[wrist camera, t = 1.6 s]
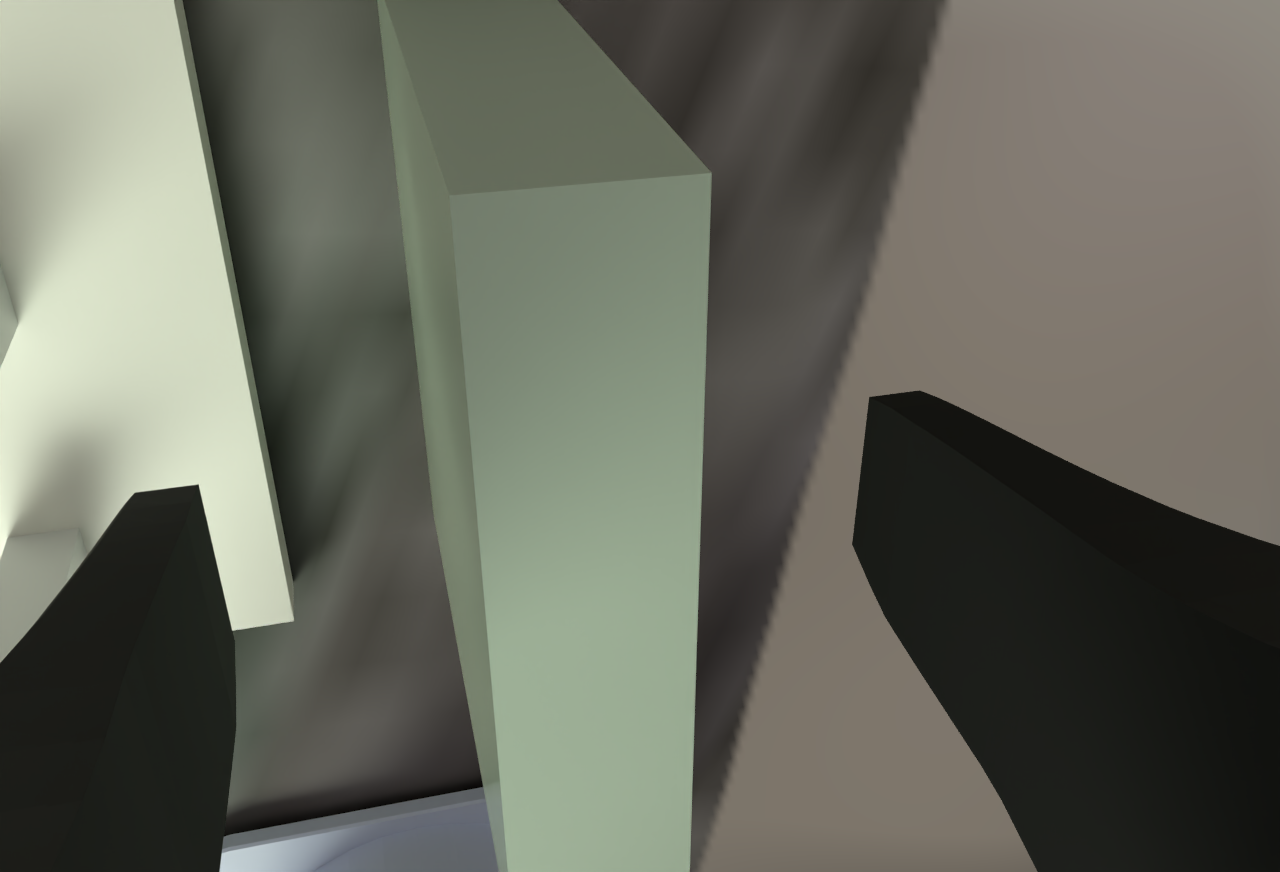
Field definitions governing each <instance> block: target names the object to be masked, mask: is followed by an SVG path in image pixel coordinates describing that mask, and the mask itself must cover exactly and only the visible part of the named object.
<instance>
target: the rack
mask: <svg viewBox="0 0 1280 872" xmlns="http://www.w3.org/2000/svg"><path fill="white" fill-rule="evenodd" d="M197 484H199V489H200V493H201V497H202V502H203V506H204V510H205V515H206V519H207V523H208V528H209V532H210V536H211V541H212V545H213V549H214V554H215V558H216V562H217V567H218V571H219V575H220V580H221V584H222V588H223V593H224V597H225V601H226V606H227V610H228V614H229V619H230V623H231V627H232V631H233V630H240V629H246V628H252V627H259V626H265V625H272V624H278V623H285V622H291V621H294V584H293V579H292V574H291V568H290V563H289V558H288V553H287V547H286V542H285V537H284V532H283V526H282V521H281V516H280V510H279V505H278V500H277V495H276V489H275V484H274V479H273V474H272V468H271V463H270V458H269V453H268V447H267V442H266V437H265V432H264V426H263V421H262V416H261V411H260V405H259V400H258V395H257V390H256V384H255V379H254V374H253V369H252V363H251V358H250V353H249V347H248V342H247V337H246V332H245V326H244V321H243V316H242V311H241V305H240V300H239V295H238V290H237V284H236V279H235V274H234V269H233V263H232V258H231V253H230V248H229V242H228V237H227V232H226V227H225V221H224V216H223V211H222V206H221V200H220V195H219V190H218V185H217V179H216V174H215V169H214V163H213V158H212V153H211V148H210V142H209V137H208V132H207V127H206V121H205V116H204V111H203V106H202V100H201V95H200V90H199V85H198V79H197V74H196V69H195V64H194V58H193V53H192V48H191V43H190V37H189V32H188V27H187V22H186V16H185V11H184V6H183V1H182V0H0V662H1V661H2V660H3V659H4V658H5V657H6V656H7V655H8V653H9V652H10V651H11V650H12V649H13V648H14V647H15V646H16V644H17V643H18V642H19V641H20V640H21V639H22V638H23V637H24V635H25V634H26V633H27V632H28V631H29V629H30V628H31V627H32V626H33V625H34V623H35V622H36V621H37V620H38V618H39V617H40V616H41V615H42V613H43V612H44V611H45V610H46V608H47V607H48V606H49V604H50V603H51V602H52V601H53V599H54V598H55V597H56V596H57V594H58V593H59V592H60V591H61V589H62V588H63V587H64V585H65V584H66V583H67V582H68V580H69V579H70V578H71V577H72V575H73V574H74V573H75V571H76V570H77V569H78V567H79V566H80V564H81V563H82V562H83V560H84V559H85V558H86V556H87V555H88V554H89V552H90V551H91V550H92V548H93V547H94V546H95V544H96V543H97V541H98V540H99V539H100V537H101V536H102V534H103V533H104V532H105V530H106V529H107V528H108V526H109V525H110V523H111V522H112V521H113V519H114V518H115V516H116V515H117V514H118V512H119V511H120V510H121V508H122V507H123V506H124V504H125V503H126V502H127V501H128V500H129V498H130V497H131V496H132V495H133V494H134V493H136V492H143V491H151V490H159V489H167V488H174V487H182V486H190V485H197Z"/></svg>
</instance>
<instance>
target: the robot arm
mask: <svg viewBox="0 0 1280 872" xmlns="http://www.w3.org/2000/svg"><path fill="white" fill-rule="evenodd" d="M852 545H853V547H854V549H855V552H856V554H857V556H858V559H859V561H860V563H861V565H862V568H863V570H864V572H865V575H866V577H867V579H868V582H869V584H870V586H871V588H872V590H873V593H874V595H875V597H876V599H877V601H878V603H879V605H880V607H881V609H882V611H883V614H884V615H885V617H886V619H887V621H888V622H889V624H890V625H891V627H892V629H893V630H894V632H895V633H896V635H897V636H898V638H899V639H900V641H901V643H902V645H903V646H904V648H905V649H906V651H907V652H908V654H909V655H910V657H911V658H912V660H913V662H914V663H915V665H916V666H917V668H918V669H919V671H920V673H921V674H922V676H923V677H924V679H925V680H926V682H927V683H928V685H929V686H930V688H931V689H932V691H933V693H934V694H935V695H936V697H937V699H938V700H939V702H940V703H941V705H942V706H943V708H944V709H945V711H946V712H947V714H948V716H949V717H950V719H951V720H952V722H953V723H954V725H955V726H956V728H957V729H958V731H959V732H960V734H961V735H962V737H963V738H964V740H965V741H966V743H967V745H968V746H969V748H970V749H971V751H972V752H973V754H974V755H975V757H976V758H977V760H978V761H979V763H980V764H981V766H982V768H983V769H984V771H985V773H986V775H987V776H988V778H989V779H990V781H991V783H992V785H993V786H994V788H995V790H996V792H997V793H998V795H999V797H1000V798H1001V800H1002V802H1003V804H1004V806H1005V808H1006V810H1007V812H1008V814H1009V816H1010V818H1011V820H1012V822H1013V824H1014V826H1015V828H1016V830H1017V832H1018V834H1019V836H1020V838H1021V840H1022V842H1023V843H1024V845H1025V848H1026V849H1027V851H1028V854H1029V856H1030V858H1031V860H1032V861H1033V863H1034V865H1035V867H1036V869H1037V871H1038V872H1280V546H1278V545H1274V544H1271V543H1268V542H1265V541H1262V540H1258V539H1256V538H1253V537H1250V536H1247V535H1244V534H1241V533H1239V532H1235V531H1233V530H1230V529H1227V528H1224V527H1221V526H1219V525H1216V524H1213V523H1210V522H1207V521H1205V520H1202V519H1199V518H1196V517H1193V516H1191V515H1188V514H1186V513H1183V512H1181V511H1178V510H1175V509H1173V508H1170V507H1168V506H1165V505H1163V504H1161V503H1158V502H1156V501H1154V500H1152V499H1149V498H1147V497H1145V496H1142V495H1140V494H1138V493H1135V492H1133V491H1131V490H1128V489H1126V488H1124V487H1122V486H1119V485H1117V484H1114V483H1112V482H1110V481H1108V480H1106V479H1104V478H1102V477H1099V476H1097V475H1095V474H1093V473H1091V472H1089V471H1087V470H1084V469H1082V468H1080V467H1078V466H1076V465H1074V464H1072V463H1070V462H1068V461H1066V460H1064V459H1062V458H1060V457H1058V456H1055V455H1053V454H1051V453H1049V452H1047V451H1045V450H1043V449H1041V448H1039V447H1037V446H1035V445H1033V444H1031V443H1029V442H1027V441H1025V440H1023V439H1021V438H1019V437H1017V436H1015V435H1014V434H1012V433H1010V432H1007V431H1006V430H1003V429H1002V428H1000V427H998V426H996V425H994V424H991V423H990V422H988V421H986V420H984V419H982V418H980V417H977V416H975V415H974V414H972V413H970V412H968V411H966V410H963V409H961V408H959V407H957V406H955V405H953V404H951V403H949V402H947V401H944V400H942V399H940V398H937V397H935V396H932V395H930V394H927V393H925V392H922V391H913V392H905V393H897V394H890V395H882V396H875V397H869V405H868V413H867V422H866V430H865V439H864V448H863V456H862V465H861V474H860V482H859V491H858V500H857V509H856V517H855V525H854V534H853V542H852ZM235 733H236V675H235V640H234V636H233V632H232V627H231V623H230V619H229V614H228V610H227V606H226V601H225V597H224V593H223V588H222V584H221V580H220V575H219V571H218V567H217V562H216V558H215V554H214V549H213V545H212V541H211V536H210V532H209V528H208V523H207V519H206V515H205V510H204V506H203V502H202V497H201V493H200V489H199V484H197V485H190V486H182V487H174V488H167V489H159V490H151V491H143V492H136V493H134V494H133V495H132V496H131V497H130V498H129V500H128V501H127V502H126V503H125V504H124V506H123V507H122V508H121V510H120V511H119V512H118V514H117V515H116V516H115V518H114V519H113V521H112V522H111V523H110V525H109V526H108V528H107V529H106V530H105V532H104V533H103V534H102V536H101V537H100V539H99V540H98V541H97V543H96V544H95V546H94V547H93V548H92V550H91V551H90V552H89V554H88V555H87V556H86V558H85V559H84V560H83V562H82V563H81V564H80V566H79V567H78V569H77V570H76V571H75V573H74V574H73V575H72V577H71V578H70V579H69V580H68V582H67V583H66V584H65V585H64V587H63V588H62V589H61V591H60V592H59V593H58V594H57V596H56V597H55V598H54V599H53V601H52V602H51V603H50V604H49V606H48V607H47V608H46V610H45V611H44V612H43V613H42V615H41V616H40V617H39V618H38V620H37V621H36V622H35V623H34V625H33V626H32V627H31V628H30V629H29V631H28V632H27V633H26V634H25V635H24V637H23V638H22V639H21V640H20V641H19V642H18V643H17V644H16V646H15V647H14V648H13V649H12V650H11V651H10V652H9V653H8V655H7V656H6V657H5V658H4V659H3V660H2V661H1V662H0V872H499V870H498V865H497V859H496V854H495V848H494V843H493V837H492V832H491V826H490V821H489V815H488V810H487V804H486V799H485V794H484V788H483V787H480V788H475V789H469V790H464V791H459V792H453V793H448V794H443V795H438V796H432V797H427V798H422V799H416V800H411V801H406V802H401V803H395V804H390V805H385V806H379V807H374V808H369V809H363V810H358V811H353V812H348V813H342V814H337V815H332V816H326V817H321V818H316V819H310V820H305V821H300V822H295V823H289V824H284V825H279V826H273V827H268V828H263V829H258V830H252V831H247V832H242V833H236V834H231V835H227V836H224V830H225V821H226V813H227V805H228V796H229V787H230V779H231V770H232V761H233V752H234V743H235Z"/></svg>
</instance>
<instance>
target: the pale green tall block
mask: <svg viewBox="0 0 1280 872" xmlns="http://www.w3.org/2000/svg"><path fill="white" fill-rule="evenodd" d="M377 3H378V12H379V21H380V31H381V40H382V49H383V58H384V67H385V76H386V85H387V95H388V104H389V113H390V122H391V131H392V140H393V149H394V158H395V168H396V177H397V186H398V195H399V204H400V213H401V222H402V232H403V241H404V250H405V259H406V268H407V277H408V286H409V296H410V305H411V314H412V323H413V332H414V341H415V350H416V359H417V369H418V378H419V387H420V396H421V405H422V414H423V423H424V433H425V442H426V451H427V460H428V469H429V478H430V487H431V496H432V506H433V515H434V520H435V526H436V531H437V537H438V542H439V548H440V553H441V559H442V564H443V569H444V575H445V580H446V586H447V591H448V597H449V602H450V608H451V613H452V619H453V624H454V630H455V635H456V641H457V646H458V651H459V657H460V662H461V668H462V673H463V679H464V684H465V690H466V695H467V701H468V706H469V712H470V717H471V722H472V728H473V733H474V739H475V744H476V750H477V755H478V761H479V766H480V772H481V777H482V783H483V788H484V794H485V799H486V804H487V810H488V815H489V821H490V826H491V832H492V837H493V843H494V848H495V854H496V859H497V865H498V870H499V872H690V845H691V814H692V782H693V750H694V719H695V687H696V655H697V624H698V592H699V561H700V529H701V497H702V466H703V434H704V402H705V371H706V339H707V307H708V276H709V244H710V212H711V181H712V173H711V172H710V170H709V169H708V168H707V167H706V166H705V165H704V164H703V163H702V161H701V160H700V159H699V158H698V157H697V156H696V155H695V154H694V153H693V151H692V150H691V149H690V148H689V147H688V146H687V145H686V144H685V142H684V141H683V140H682V139H681V138H680V137H679V136H678V135H677V133H676V132H675V131H674V130H673V129H672V128H671V127H670V126H669V125H668V123H667V122H666V121H665V120H664V119H663V118H662V117H661V116H660V114H659V113H658V112H657V111H656V110H655V109H654V108H653V107H652V106H651V104H650V103H649V102H648V101H647V100H646V99H645V98H644V97H643V95H642V94H641V93H640V92H639V91H638V90H637V89H636V88H635V86H634V85H633V84H632V83H631V82H630V81H629V80H628V79H627V78H626V76H625V75H624V74H623V73H622V72H621V71H620V70H619V69H618V67H617V66H616V65H615V64H614V63H613V62H612V61H611V60H610V59H609V57H608V56H607V55H606V54H605V53H604V52H603V51H602V50H601V48H600V47H599V46H598V45H597V44H596V43H595V42H594V41H593V39H592V38H591V37H590V36H589V35H588V34H587V33H586V32H585V31H584V29H583V28H582V27H581V26H580V25H579V24H578V23H577V22H576V20H575V19H574V18H573V17H572V16H571V15H570V14H569V13H568V11H567V10H566V9H565V8H564V7H563V6H562V5H561V4H560V3H559V1H558V0H377Z"/></svg>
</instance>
